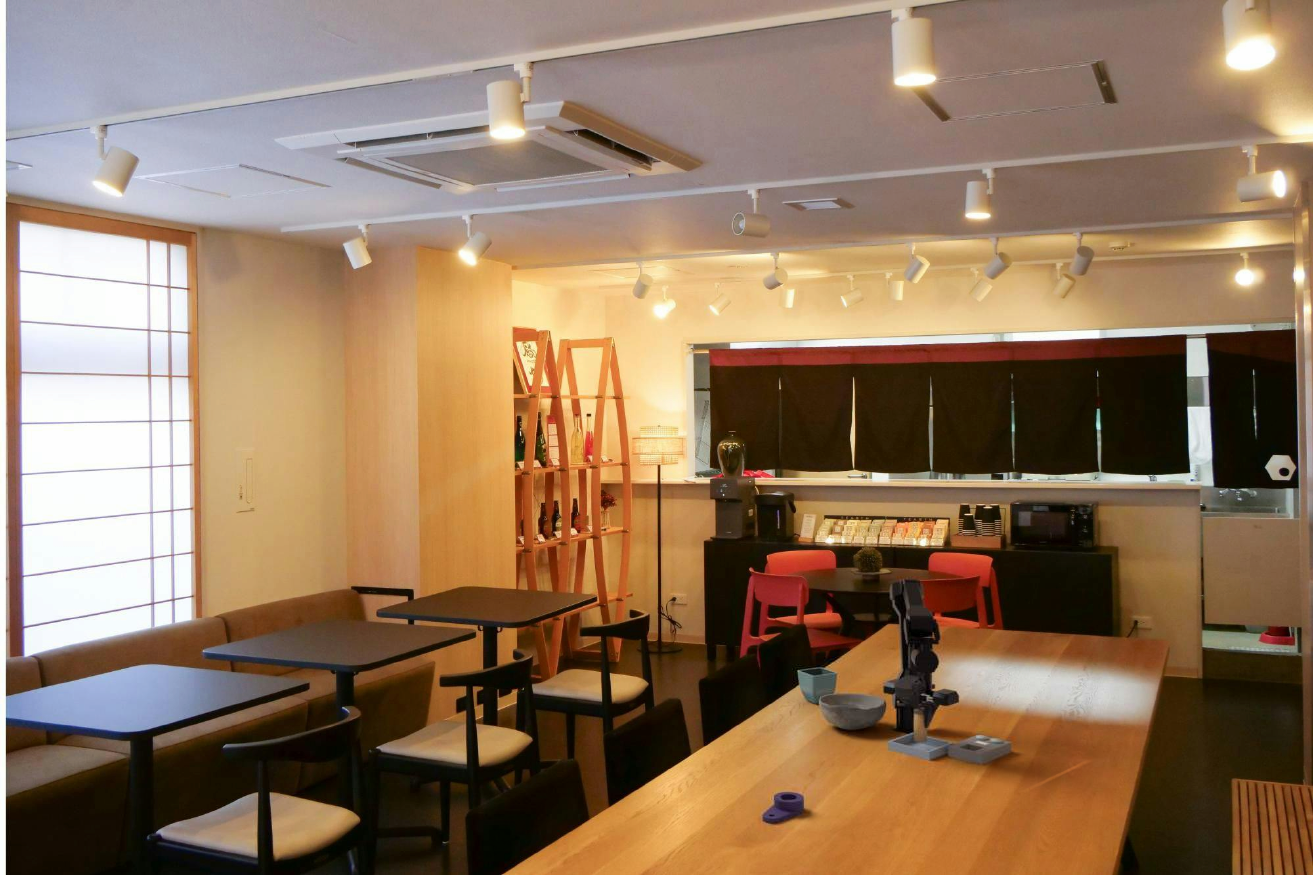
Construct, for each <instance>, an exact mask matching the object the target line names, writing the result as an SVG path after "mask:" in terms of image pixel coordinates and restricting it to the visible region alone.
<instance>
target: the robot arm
mask: <svg viewBox="0 0 1313 875" xmlns="http://www.w3.org/2000/svg"><path fill="white" fill-rule="evenodd" d="M920 581H921V580H920V579H917V578H902V579H900V580H899V581H897V582H894V583H893V582H892V583H891V585H890V586H889V599H890V600H891V601H892V608H893V609H894V610H895V612H896V614H897V616H898V623H899V624H898V625H899V626H898V627H899V629H898V630H899V651H900V654H899V655H900V671H899V673H898V675H897V677H896V678H894V679H890V680H887V681H885V682H884V683H883V687H882V688H883V690H882V691H883V694H886V695H891V696H892V697H891V701H892V703H891V704H892V706H893V708H894V710H895V718H896V719H895V722H896V723H895V726H894V727H892V730H894V731H898V732H902V733H907V734H910V733H914V713H913V708H914V707H924V725H925V728H927V729H928V728H930V726H931V723H932V722H933V718H934V716H935V714H936V712H937V710H938V709H939V706H942V707H949V706H952V705H955V704H959V703H960V695H959V692H958V691H956V690H952V689H948V688H943V689H942V688H941V689H939V690H936V684H934V683H933V673H935V672H936V670H937V669H938V667H939V663H940V661H939V656H938V655H937V653H936V652H935V651H934V649H933V645H940V642H939V641H941V633H940V627H939V623H938V622H937V619H936V618H934V616H933V613H932V611H931V610H930V609H928V608H926V607H925V603H924V597H925V596H924V584H923V583H922V582H920ZM934 689H935V690H934Z"/></svg>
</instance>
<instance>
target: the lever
mask: <svg viewBox="0 0 1313 875" xmlns="http://www.w3.org/2000/svg"><path fill="white" fill-rule="evenodd" d="M804 812H805V797H804V795H803V794H801V793H798V792H794V791H783V792H782V791H781V792H778V793H775V794H774V795H773V805H771V806H770V807H769V808H768V809H767V810H765V811H764V812H763V813H762V822H763V823H766V824H771V825H772V824H773V825H774V824H779V823H781V822H784V821H787V820H790V819H793V818H795V817H798V816H799V815H800V816H801V815H802V814H804Z"/></svg>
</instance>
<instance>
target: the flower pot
mask: <svg viewBox="0 0 1313 875" xmlns="http://www.w3.org/2000/svg"><path fill="white" fill-rule="evenodd" d="M797 677H798V684H799V689H800V693H802V695H803V697H804V699H805V700H806V701H807V702H811V703H812V704H815V705H816V704H819V699H820V697H822V696H825V695H828V694H835V692H836V688H837V679H838V672H836V671H834V670H831V669H827V668H824V667H814V668H813V667H812V668H806V669H799V670H797Z"/></svg>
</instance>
